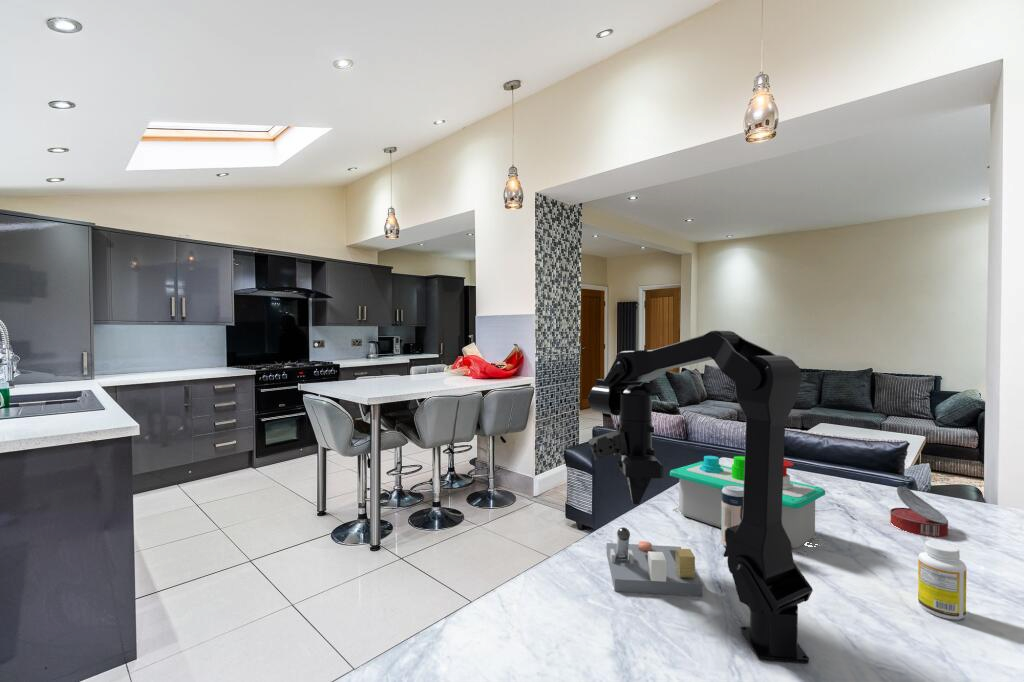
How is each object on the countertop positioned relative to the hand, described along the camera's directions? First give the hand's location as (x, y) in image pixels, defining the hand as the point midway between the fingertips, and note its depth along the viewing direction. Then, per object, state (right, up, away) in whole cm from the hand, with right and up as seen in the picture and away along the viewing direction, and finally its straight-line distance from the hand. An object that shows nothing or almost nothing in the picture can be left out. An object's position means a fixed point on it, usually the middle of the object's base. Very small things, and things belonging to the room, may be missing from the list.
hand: (635, 503), depth 88 cm
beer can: (+22, -12, +9) cm, 27 cm away
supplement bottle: (+44, -12, -14) cm, 48 cm away
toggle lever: (-3, -9, -2) cm, 9 cm away
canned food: (+68, -12, +19) cm, 72 cm away
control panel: (+29, -12, +20) cm, 38 cm away
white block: (+1, -9, -8) cm, 13 cm away
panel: (+2, -12, -2) cm, 12 cm away
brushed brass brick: (+6, -9, -7) cm, 13 cm away
